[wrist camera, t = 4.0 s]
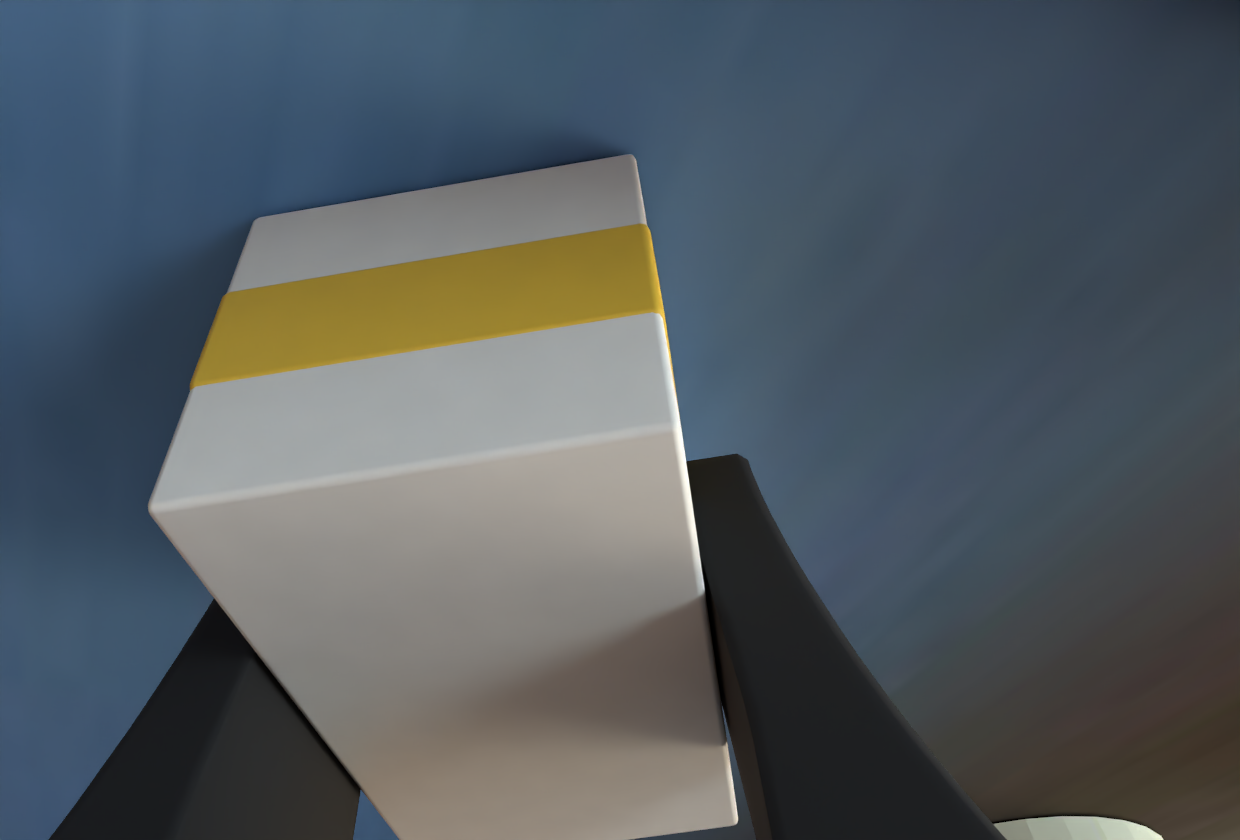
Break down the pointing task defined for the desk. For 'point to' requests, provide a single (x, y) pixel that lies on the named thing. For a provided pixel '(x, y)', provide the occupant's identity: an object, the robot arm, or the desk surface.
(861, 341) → the desk surface
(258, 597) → the tea packet
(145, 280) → the desk surface
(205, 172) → the desk surface
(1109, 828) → the reusable coffee cup
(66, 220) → the desk surface
